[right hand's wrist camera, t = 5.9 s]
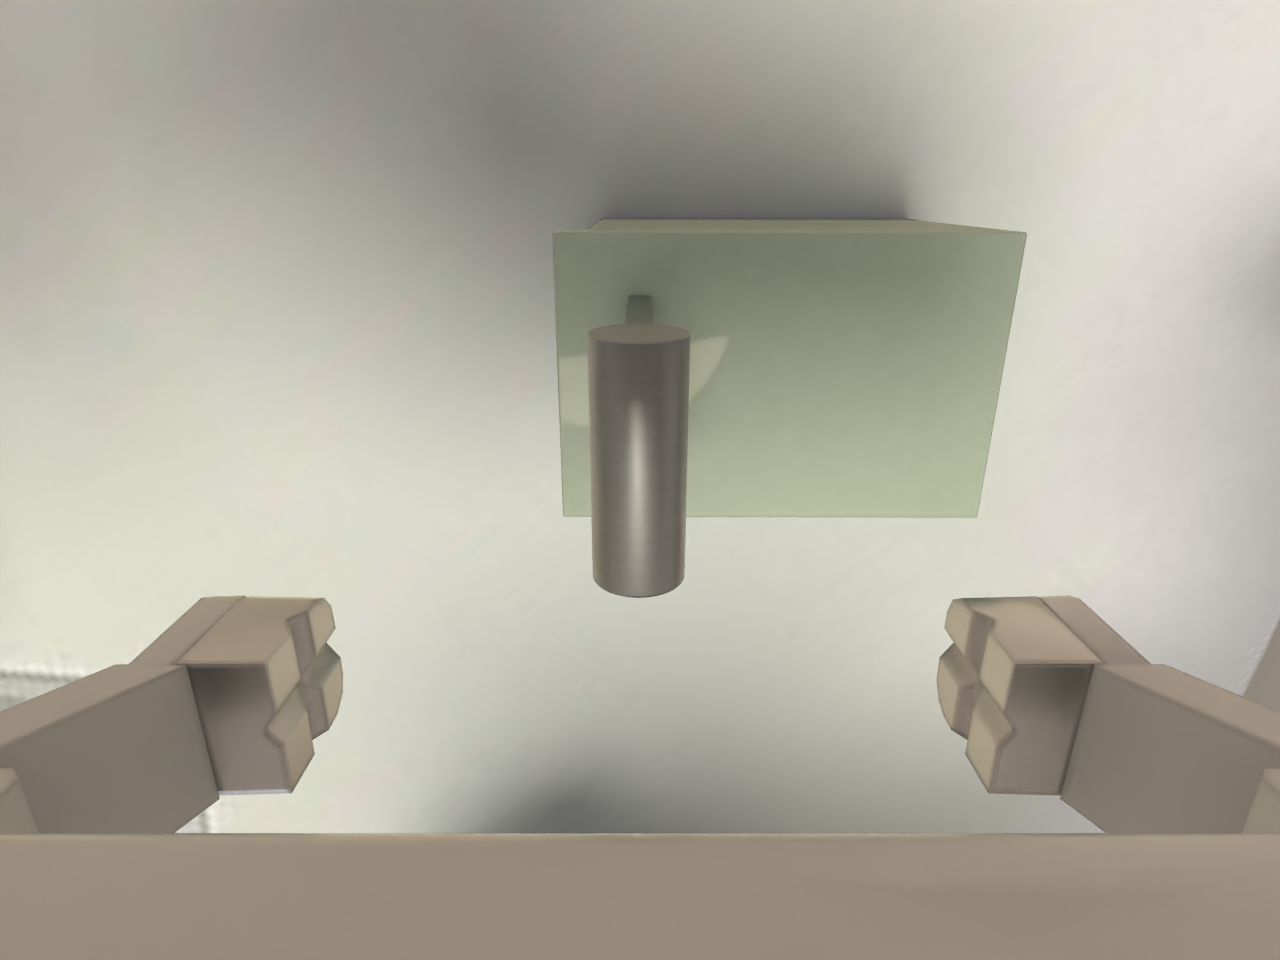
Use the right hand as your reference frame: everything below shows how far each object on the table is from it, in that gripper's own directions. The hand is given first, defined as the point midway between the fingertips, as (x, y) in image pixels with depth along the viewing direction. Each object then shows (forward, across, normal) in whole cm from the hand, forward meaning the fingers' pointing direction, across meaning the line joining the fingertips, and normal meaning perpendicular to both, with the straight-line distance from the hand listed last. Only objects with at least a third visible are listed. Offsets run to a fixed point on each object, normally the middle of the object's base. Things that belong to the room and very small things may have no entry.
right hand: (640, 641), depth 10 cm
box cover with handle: (+15, +4, 0) cm, 16 cm away
